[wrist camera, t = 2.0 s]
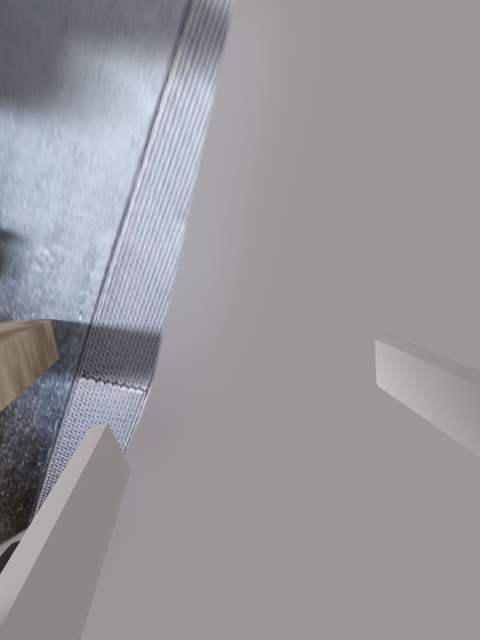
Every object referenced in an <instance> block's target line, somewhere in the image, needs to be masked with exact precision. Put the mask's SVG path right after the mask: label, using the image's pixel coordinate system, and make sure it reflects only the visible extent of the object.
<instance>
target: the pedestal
mask: <svg viewBox="0 0 480 640" xmlns="http://www.w3.org/2000/svg"><path fill="white" fill-rule="evenodd" d="M59 359H60V357H59V353H58V349H57V344H56V340H55V336H54V331H53V327H52V323H51V319H38V320H7V321H0V411H1V410H3V409H4V408H5V407H6V406H7V405H8V404H9V403H10V402H12V401H13V400H14V399H15V398H16V397H17V396H18V395H19V394H21V393H22V392H23V391H24V390H25V389H26V388H27V387H28V386H30V385H31V384H32V383H33V382H34V381H35V380H36V379H37V378H38V377H40V376H41V375H42V374H43V373H44V372H45V371H46V370H47V369H49V368H50V367H51V366H52V365H53V364H54V363H55V362H56V361H58V360H59Z"/></svg>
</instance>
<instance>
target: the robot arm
mask: <svg viewBox="0 0 480 640" xmlns="http://www.w3.org/2000/svg"><path fill="white" fill-rule="evenodd" d="M375 354H376V355H375V356H376V376H377V377H376V379H377V385H378V386H379V387H380V388H382V389H383V390H385V391H386V392H388V393H389V394H391V395H392V396H393V397H395V398H396V399H398V400H399V401H401V402H402V403H403V404H405V405H406V406H408V407H409V408H411V409H412V410H414V411H415V412H416V413H418V414H419V415H421V416H422V417H424V418H425V419H427V420H428V421H430V422H431V423H432V424H434V425H435V426H437V427H438V428H440V429H441V430H442V431H444V432H446V433H447V434H448V435H450V436H451V437H453V438H454V439H456V440H457V441H458V442H460V443H461V444H463V445H464V446H466V447H467V448H468V449H470V450H471V451H473V452H474V453H476V454H477V455H478V456H480V371H478V370H475V369H473V368H470V367H468V366H465V365H462V364H460V363H457V362H455V361H452V360H450V359H447V358H445V357H442V356H440V355H437V354H435V353H432V352H429V351H427V350H425V349H422V348H420V347H417V346H415V345H412V344H410V343H407V342H404V341H402V340H399V339H397V338H394V337H392V336H389V335H386V336H383V337H380V338H377V339H375ZM130 471H131V468H130V466H129V464H128V462H127V460H126V458H125V456H124V454H123V452H122V450H121V448H120V446H119V444H118V442H117V440H116V438H115V436H114V434H113V432H112V430H111V428H110V426H109V424H108V423H105V424H102V425H99V426H95V427H92V428H89V430H88V432H87V433H86V435H85V437H84V438H83V440H82V441H81V443H80V445H79V446H78V448H77V450H76V451H75V453H74V455H73V456H72V458H71V459H70V461H69V463H68V464H67V466H66V468H65V469H64V471H63V472H62V474H61V476H60V477H59V479H58V481H57V482H56V484H55V486H54V487H53V489H52V490H51V492H50V494H49V495H48V497H47V499H46V500H45V502H44V504H43V505H42V507H41V508H40V510H39V512H38V513H37V515H36V517H35V518H34V520H33V522H32V523H31V525H30V526H29V528H28V530H27V531H26V533H25V535H24V536H23V538H22V540H21V541H18V542H15V543H13V544H11V545H10V546H9V548H8V549H7V550H6V551H5V552H4V553H3V554H2V555H1V557H0V640H80V639H81V636H82V632H83V629H84V625H85V622H86V619H87V616H88V612H89V609H90V605H91V602H92V599H93V595H94V592H95V588H96V585H97V581H98V578H99V575H100V572H101V568H102V565H103V562H104V558H105V555H106V551H107V548H108V545H109V541H110V538H111V534H112V531H113V528H114V525H115V521H116V518H117V514H118V511H119V508H120V504H121V501H122V498H123V494H124V491H125V487H126V484H127V481H128V477H129V474H130Z"/></svg>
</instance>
